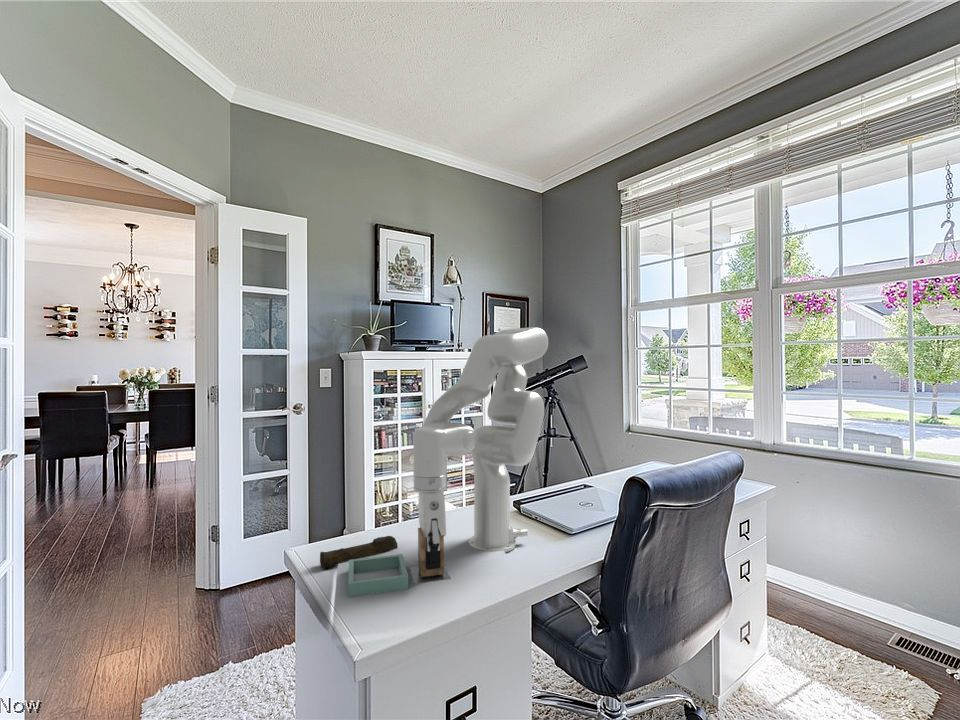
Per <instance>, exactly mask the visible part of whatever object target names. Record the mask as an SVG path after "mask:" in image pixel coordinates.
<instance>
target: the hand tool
mask: <svg viewBox="0 0 960 720" xmlns="http://www.w3.org/2000/svg"><path fill="white" fill-rule="evenodd" d="M397 549H398V542H397V540H396V538H395V537H394V536H392V535H386V536H379V537H378V536H377V537H376V538H374V539H372V541H370V542H367V543H362V544H360V545H359V544H358V545H354V546H350V547H344V548H339V549H335V550H329V551H320V554H319V564H320V568H321V569H322V570H325V569H326V568H329V569H331V568H332V567H333V566H337V565H339V564H340V563H344V562H349V560H352V559H361V558H369V557H371V556H372V557H373V556H376V555H381V554H385V553H388V552H390V551H394V550H397Z"/></svg>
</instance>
